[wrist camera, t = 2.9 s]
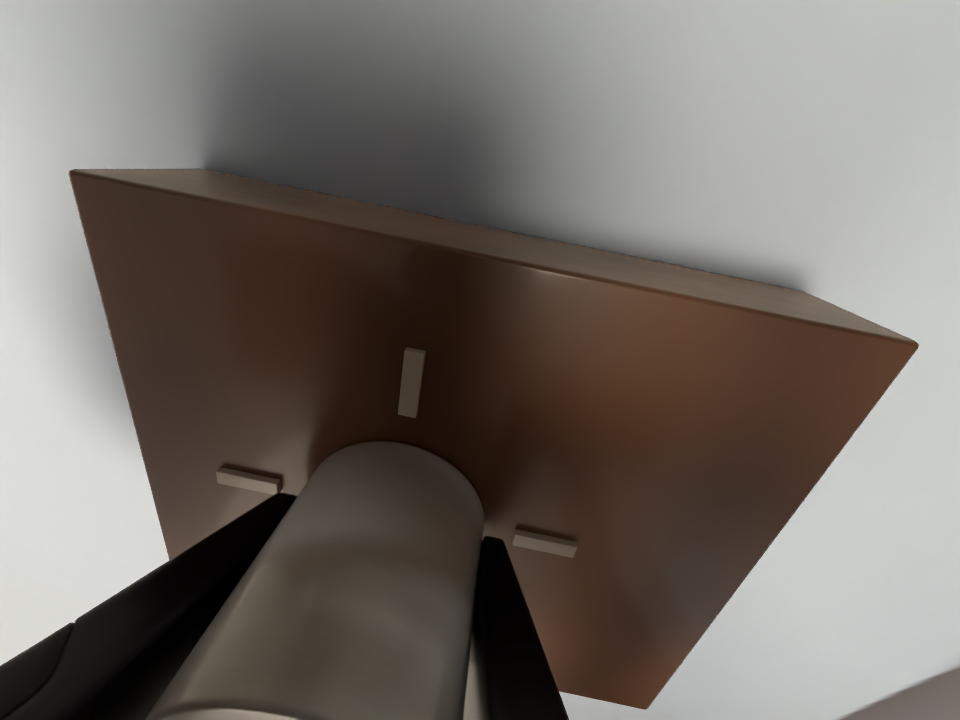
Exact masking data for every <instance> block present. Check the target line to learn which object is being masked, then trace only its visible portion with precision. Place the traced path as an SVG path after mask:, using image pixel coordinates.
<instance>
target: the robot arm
mask: <svg viewBox="0 0 960 720" xmlns="http://www.w3.org/2000/svg"><path fill="white" fill-rule="evenodd" d="M296 498H297V496H296V495H292V494H287V493H282V492H280V493H276V494H274V495H273V496H271V497H270V498H268V499H266V500H265V501H263V502H262V503H260V504H258V505H257V506H255V507H254V508H252V509H251V510H249V511H247V512H246V513H244V514H243V515H241V516H239V517H238V518H236V519H235V520H233V521H231V522H230V523H228V524H227V525H225V526H224V527H222V528H220V529H219V530H217V531H216V532H214V533H212V534H211V535H209V536H208V537H206V538H204V539H203V540H201V541H200V542H198V543H197V544H195V545H193V546H192V547H190V548H189V549H187V550H185V551H184V552H182V553H181V554H179V555H177V556H176V557H174V558H173V559H171V560H170V561H168V562H166V563H165V564H163V565H162V566H160V567H158V568H157V569H155V570H154V571H152V572H150V573H149V574H147V575H146V576H144V577H143V578H141V579H139V580H138V581H136V582H135V583H133V584H131V585H130V586H128V587H127V588H125V589H123V590H122V591H120V592H119V593H117V594H116V595H114V596H112V597H111V598H109V599H108V600H106V601H104V602H103V603H101V604H100V605H98V606H96V607H95V608H93V609H92V610H90V611H89V612H87V613H85V614H84V615H82V616H81V617H79V618H78V619H77V620H76V621H75V623H69V624H68V625H66V626H64V627H63V628H61V629H60V630H58V631H56V632H55V633H53V634H52V635H50V636H49V637H47V638H45V639H44V640H42V641H41V642H39V643H37V644H36V645H34V646H32V647H31V648H29V649H27V650H26V651H24V652H23V653H21V654H19V655H18V656H16V657H14V658H13V659H11V660H9V661H8V662H6V663H4V664H3V665H1V666H0V720H145V718H146V717H147V715H148V714H149V713H150V711H151V710H152V708H153V707H154V705H155V704H156V702H157V701H158V699H159V698H160V696H161V695H162V694H163V692H164V691H165V689H166V688H167V686H168V685H169V683H170V682H171V680H172V679H173V678H174V676H175V675H176V673H177V672H178V670H179V669H180V667H181V666H182V664H183V663H184V661H185V660H186V659H187V657H188V656H189V654H190V653H191V651H192V650H193V648H194V647H195V645H196V644H197V642H198V641H199V640H200V638H201V637H202V635H203V634H204V632H205V631H206V629H207V628H208V626H209V625H210V624H211V622H212V621H213V619H214V618H215V616H216V615H217V613H218V612H219V610H220V609H221V607H222V606H223V605H224V603H225V602H226V600H227V599H228V597H229V596H230V594H231V593H232V591H233V590H234V589H235V587H236V586H237V584H238V583H239V581H240V580H241V578H242V577H243V575H244V574H245V572H246V571H247V570H248V568H249V567H250V565H251V564H252V562H253V561H254V559H255V558H256V556H257V555H258V553H259V552H260V551H261V549H262V548H263V546H264V545H265V543H266V542H267V540H268V539H269V537H270V536H271V535H272V533H273V532H274V530H275V529H276V527H277V526H278V524H279V523H280V521H281V520H282V518H283V517H284V516H285V514H286V513H287V511H288V510H289V508H290V507H291V505H292V504H293V502H294V501H295V500H296ZM463 720H569V718H568V715H567V713H566V710H565V707H564V704H563V702H562V699H561V696H560V693H559V691H558V688H557V685H556V683H555V680H554V677H553V674H552V672H551V669H550V666H549V663H548V661H547V658H546V655H545V652H544V650H543V647H542V644H541V641H540V639H539V636H538V633H537V630H536V628H535V625H534V622H533V619H532V617H531V614H530V611H529V608H528V606H527V603H526V600H525V597H524V595H523V592H522V589H521V586H520V584H519V581H518V578H517V575H516V573H515V570H514V567H513V564H512V562H511V559H510V556H509V554H508V551H507V548H506V545H505V543H504V541H503V540H502V539H500V538H496V537H491V536H485V537H484V539H483V542H482V550H481V559H480V569H479V578H478V587H477V596H476V605H475V614H474V623H473V633H472V642H471V651H470V660H469V669H468V678H467V687H466V697H465V706H464V715H463Z"/></svg>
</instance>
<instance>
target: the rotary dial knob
mask: <svg viewBox="0 0 960 720" xmlns="http://www.w3.org/2000/svg"><path fill="white" fill-rule="evenodd" d="M483 532H484V513H483V508H482V505H481V502H480V499H479V497H478V495H477V493H476V491H475V490H474V488H473V486H472V485H471V484H470V482H469V481H468V480H467V478H466V477H465V476H464V475H463V474H462V473H461V472H460V471H459V470H457V469H456V468H455V467H454V466H452V465H451V464H450V463H448V462H447V461H445V460H444V459H442V458H441V457H439V456H437V455H435V454H433V453H431V452H429V451H426V450H424V449H421V448H418V447H415V446H411V445H408V444H404V443H397V442H388V441H373V442H364V443H358V444H354V445H351V446H348V447H345V448H343V449H341V450H339V451H337V452H335V453H333V454H332V455H330V456H329V457H328V458H326V459H325V460H324V461H323V462H322V463H321V464H320V465H319V466H318V468H317V469H316V470H315V472H314V473H313V475H312V476H311V478H310V479H309V481H308V482H307V483H306V485H305V486H304V488H303V489H302V491H301V492H300V494H299V495H298V497H297V498H296V500H295V501H294V502H293V504H292V505H291V507H290V508H289V510H288V511H287V513H286V514H285V516H284V517H283V518H282V520H281V521H280V523H279V524H278V526H277V527H276V529H275V530H274V532H273V533H272V535H271V536H270V537H269V539H268V540H267V542H266V543H265V545H264V546H263V548H262V549H261V551H260V552H259V553H258V555H257V556H256V558H255V559H254V561H253V562H252V564H251V565H250V567H249V568H248V570H247V571H246V572H245V574H244V575H243V577H242V578H241V580H240V581H239V583H238V584H237V586H236V587H235V589H234V590H233V591H232V593H231V594H230V596H229V597H228V599H227V600H226V602H225V603H224V605H223V606H222V607H221V609H220V610H219V612H218V613H217V615H216V616H215V618H214V619H213V621H212V622H211V624H210V625H209V626H208V628H207V629H206V631H205V632H204V634H203V635H202V637H201V638H200V640H199V641H198V642H197V644H196V645H195V647H194V648H193V650H192V651H191V653H190V654H189V656H188V657H187V659H186V660H185V661H184V663H183V664H182V666H181V667H180V669H179V670H178V672H177V673H176V675H175V676H174V678H173V679H172V680H171V682H170V683H169V685H168V686H167V688H166V689H165V691H164V692H163V694H162V695H161V696H160V698H159V699H158V701H157V702H156V704H155V705H154V707H153V708H152V710H151V711H150V713H149V714H148V715H147V717H146V718H145V720H463V715H464V706H465V697H466V687H467V678H468V669H469V660H470V651H471V642H472V633H473V623H474V614H475V605H476V596H477V587H478V578H479V569H480V559H481V550H482V541H483Z"/></svg>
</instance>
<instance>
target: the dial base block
mask: <svg viewBox="0 0 960 720" xmlns="http://www.w3.org/2000/svg"><path fill="white" fill-rule="evenodd" d="M69 177H70V181H71V184H72V188H73V192H74V196H75V200H76V204H77V207H78V211H79V215H80V219H81V223H82V227H83V230H84V234H85V238H86V242H87V246H88V250H89V253H90V257H91V261H92V265H93V269H94V272H95V276H96V280H97V284H98V288H99V292H100V295H101V299H102V303H103V307H104V311H105V315H106V318H107V322H108V326H109V330H110V334H111V338H112V341H113V345H114V349H115V353H116V357H117V361H118V364H119V368H120V372H121V376H122V380H123V384H124V387H125V391H126V395H127V399H128V403H129V406H130V410H131V414H132V418H133V422H134V426H135V429H136V433H137V437H138V441H139V445H140V449H141V452H142V456H143V460H144V464H145V468H146V472H147V475H148V479H149V483H150V487H151V491H152V495H153V498H154V502H155V506H156V510H157V514H158V518H159V521H160V525H161V529H162V533H163V537H164V541H165V544H166V548H167V552H168V556H169V560H171V559H173V558H174V557H176V556H177V555H179V554H181V553H182V552H184V551H185V550H187V549H189V548H190V547H192V546H193V545H195V544H197V543H198V542H200V541H201V540H203V539H204V538H206V537H208V536H209V535H211V534H212V533H214V532H216V531H217V530H219V529H220V528H222V527H224V526H225V525H227V524H228V523H230V522H231V521H233V520H235V519H236V518H238V517H239V516H241V515H243V514H244V513H246V512H247V511H249V510H251V509H252V508H254V507H255V506H257V505H258V504H260V503H262V502H263V501H265V500H266V499H268V498H270V497H271V496H273V495H274V494H276V493H280V492H282V493H287V494H292V495H296V496H297V497H298V495H299V494H300V492H301V491H302V489H303V488H304V486H305V485H306V483H307V482H308V481H309V479H310V478H311V476H312V475H313V473H314V472H315V470H316V469H317V468H318V466H319V465H320V464H321V463H322V462H323V461H324V460H325V459H326V458H328V457H329V456H330V455H332V454H333V453H335V452H337V451H339V450H341V449H343V448H345V447H348V446H351V445H354V444H358V443H364V442H373V441H388V442H397V443H404V444H408V445H411V446H415V447H418V448H421V449H424V450H426V451H429V452H431V453H433V454H435V455H437V456H439V457H441V458H442V459H444V460H445V461H447V462H448V463H450V464H451V465H452V466H454V467H455V468H456V469H457V470H459V471H460V472H461V473H462V474H463V475H464V476H465V477H466V478H467V480H468V481H469V482H470V484H471V485H472V486H473V488H474V490H475V491H476V493H477V495H478V497H479V499H480V502H481V505H482V508H483V513H484V532H483V539H484V537H485V536H491V537H496V538H500V539H502V540H503V541H504V543H505V545H506V548H507V551H508V554H509V556H510V559H511V562H512V564H513V567H514V570H515V573H516V575H517V578H518V581H519V584H520V586H521V589H522V592H523V595H524V597H525V600H526V603H527V606H528V608H529V611H530V614H531V617H532V619H533V622H534V625H535V628H536V630H537V633H538V636H539V639H540V641H541V644H542V647H543V650H544V652H545V655H546V658H547V661H548V663H549V666H550V669H551V672H552V674H553V677H554V680H555V683H556V685H557V688H558V691H561V692H565V693H570V694H575V695H579V696H584V697H589V698H593V699H598V700H603V701H607V702H612V703H617V704H621V705H626V706H631V707H635V708H640V709H647V708H648V707H649V706H650V704H651V703H652V702H653V700H654V699H655V698H656V696H657V695H658V694H659V692H660V691H661V690H662V688H663V687H664V686H665V684H666V683H667V682H668V680H669V679H670V678H671V676H672V675H673V674H674V672H675V671H676V670H677V668H678V667H679V666H680V664H681V663H682V662H683V660H684V659H685V658H686V656H687V655H688V654H689V652H690V651H691V650H692V648H693V647H694V646H695V644H696V643H697V642H698V640H699V639H700V638H701V636H702V635H703V634H704V632H705V631H706V630H707V628H708V627H709V626H710V624H711V623H712V622H713V620H714V619H715V618H716V616H717V615H718V614H719V612H720V611H721V610H722V608H723V607H724V606H725V605H726V603H727V602H728V601H729V599H730V598H731V597H732V595H733V594H734V593H735V591H736V590H737V589H738V587H739V586H740V585H741V583H742V582H743V581H744V579H745V578H746V577H747V575H748V574H749V573H750V571H751V570H752V569H753V567H754V566H755V565H756V563H757V562H758V561H759V559H760V558H761V557H762V555H763V554H764V553H765V551H766V550H767V549H768V547H769V546H770V545H771V543H772V542H773V541H774V539H775V538H776V537H777V535H778V534H779V533H780V531H781V530H782V529H783V527H784V526H785V525H786V523H787V522H788V521H789V519H790V518H791V517H792V515H793V514H794V513H795V511H796V510H797V509H798V507H799V506H800V505H801V503H802V502H803V501H804V499H805V498H806V497H807V495H808V494H809V493H810V491H811V490H812V489H813V487H814V486H815V485H816V483H817V482H818V481H819V479H820V478H821V477H822V475H823V474H824V473H825V471H826V470H827V469H828V467H829V466H830V465H831V463H832V462H833V461H834V459H835V458H836V457H837V455H838V454H839V453H840V451H841V450H842V449H843V447H844V446H845V445H846V443H847V442H848V441H849V439H850V438H851V437H852V435H853V434H854V433H855V431H856V430H857V429H858V427H859V426H860V425H861V423H862V422H863V421H864V419H865V418H866V417H867V415H868V414H869V413H870V411H871V410H872V409H873V407H874V406H875V405H876V403H877V402H878V401H879V399H880V398H881V397H882V395H883V394H884V393H885V391H886V390H887V389H888V387H889V386H890V385H891V383H892V382H893V381H894V379H895V378H896V377H897V375H898V374H899V373H900V371H901V370H902V369H903V367H904V366H905V365H906V363H907V362H908V361H909V359H910V358H911V357H912V355H913V354H914V353H915V351H916V350H917V349H918V346H919V344H918V343H917V342H915V341H914V340H911V339H909V338H907V337H905V336H902V335H900V334H898V333H896V332H893V331H891V330H889V329H887V328H884V327H882V326H880V325H878V324H875V323H873V322H871V321H869V320H866V319H864V318H862V317H860V316H857V315H855V314H853V313H851V312H848V311H846V310H844V309H842V308H839V307H837V306H835V305H833V304H830V303H828V302H826V301H824V300H821V299H819V298H817V297H815V296H812V295H810V294H808V293H806V292H803V291H799V290H794V289H789V288H784V287H780V286H775V285H770V284H765V283H760V282H755V281H750V280H745V279H740V278H735V277H730V276H726V275H721V274H716V273H711V272H706V271H701V270H696V269H691V268H686V267H681V266H676V265H672V264H667V263H662V262H657V261H652V260H647V259H642V258H637V257H632V256H627V255H622V254H618V253H613V252H608V251H603V250H598V249H593V248H588V247H583V246H578V245H573V244H568V243H564V242H559V241H554V240H549V239H544V238H539V237H534V236H529V235H524V234H519V233H514V232H510V231H505V230H500V229H495V228H490V227H485V226H480V225H475V224H470V223H465V222H461V221H456V220H451V219H446V218H441V217H436V216H431V215H426V214H421V213H416V212H411V211H407V210H402V209H397V208H392V207H387V206H382V205H377V204H372V203H367V202H362V201H357V200H353V199H348V198H343V197H338V196H333V195H328V194H323V193H318V192H313V191H308V190H303V189H299V188H294V187H289V186H284V185H279V184H274V183H269V182H264V181H259V180H254V179H249V178H245V177H240V176H235V175H230V174H225V173H220V172H215V171H210V170H205V169H74V170H71V171H69ZM482 542H483V541H482Z"/></svg>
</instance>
